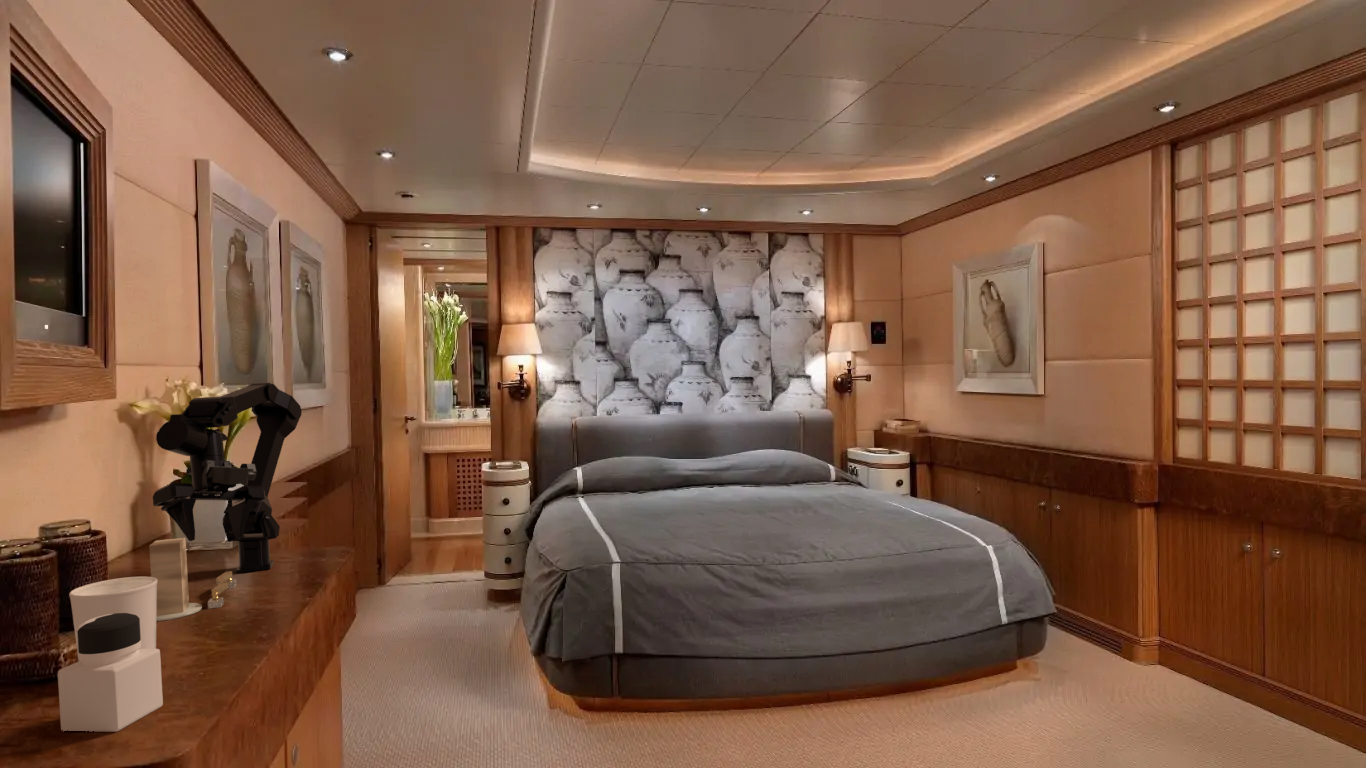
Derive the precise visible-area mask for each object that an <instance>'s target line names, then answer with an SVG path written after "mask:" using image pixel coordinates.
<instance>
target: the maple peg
mask: <svg viewBox="0 0 1366 768" xmlns="http://www.w3.org/2000/svg"><path fill="white" fill-rule="evenodd" d="M186 539H187V538H186V537H179V538H169V539H157V540H155V541H153V542H152V543H151V544H149V563H150V564H149V565H150V577H154V578H156V579H157V580H158V582H157V616H159V615H167V614H175V613H182V612H184V611H185V610H186V609H187V608H188V606H189V603H190V599H189V598H190V597H189V595H190V594H189V581H188V579H189V578H188V563H187V562H188V560H187V546H186V545H187V540H186Z"/></svg>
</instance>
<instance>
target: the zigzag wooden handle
mask: <svg viewBox="0 0 1366 768" xmlns="http://www.w3.org/2000/svg"><path fill="white" fill-rule="evenodd" d="M215 583H216V586H215V587H213V588H212V589H211V596H212V597H211V598H209V599H208V601H207V609H209V610H210V609H216V608H218V609H219V608H222V606H223V605H224V597H223V596H220V597H219V595H220V594H222V593H223V592H225V590H227V589H229V590H230V589H235V587H236V586H237V578H233V571H232V570H230V571H225V572H224V573H222V574H220V575H219V576H217V577H216V578H215Z"/></svg>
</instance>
